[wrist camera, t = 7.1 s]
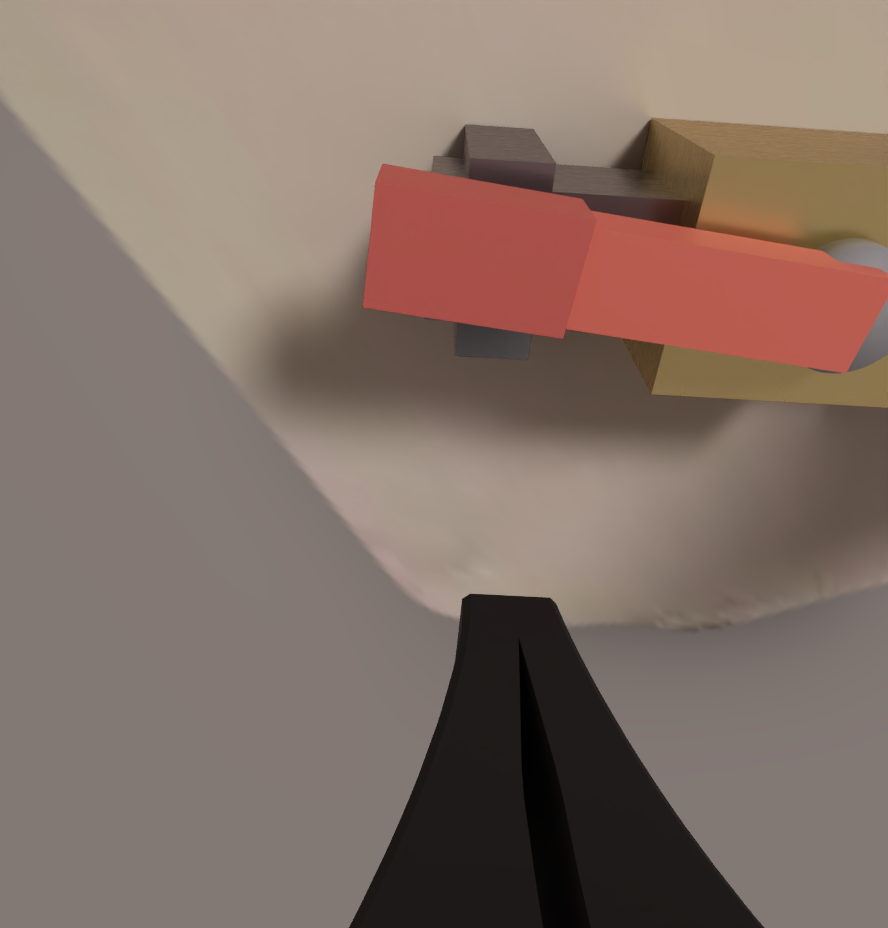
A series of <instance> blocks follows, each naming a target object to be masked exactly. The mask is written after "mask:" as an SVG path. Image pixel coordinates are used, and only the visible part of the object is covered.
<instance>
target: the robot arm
mask: <svg viewBox="0 0 888 928" xmlns="http://www.w3.org/2000/svg"><path fill="white" fill-rule="evenodd" d="M349 928H764V927H763V926H762V925H761V923H760V922H759V921H758V920H757V919H756V917H754V915H753V914H752V913H751V911H750V910H749V909H748V908H747V906H746V905H745V904H744V903H743V901H742V900H741V899H740V898H739V897H738V895H737V894H736V893H735V891H734V890H733V889H732V887H731V886H730V885H729V884H728V882H727V881H726V880H725V879H724V877H723V876H722V875H721V874H720V872H719V871H718V870H717V869H716V867H715V866H714V865H713V863H712V862H711V860H710V859H709V858H708V857H707V855H706V854H705V852H704V851H703V850H702V848H701V847H700V846H699V844H698V843H697V842H696V840H695V839H694V838H693V836H692V835H691V834H690V832H689V831H688V830H687V828H686V827H685V825H684V824H683V823H682V821H681V820H680V818H679V817H678V816H677V814H676V813H675V811H674V810H673V808H672V807H671V805H670V804H669V802H668V801H667V800H666V798H665V797H664V795H663V794H662V792H661V791H660V789H659V788H658V786H657V785H656V783H655V782H654V780H653V779H652V777H651V776H650V774H649V772H648V771H647V769H646V768H645V766H644V765H643V763H642V762H641V760H640V759H639V757H638V756H637V754H636V752H635V751H634V749H633V748H632V746H631V744H630V743H629V741H628V739H627V738H626V736H625V735H624V733H623V731H622V730H621V728H620V726H619V724H618V723H617V721H616V720H615V718H614V716H613V714H612V712H611V711H610V709H609V707H608V706H607V704H606V702H605V701H604V699H603V697H602V695H601V694H600V692H599V690H598V688H597V686H596V684H595V683H594V681H593V679H592V677H591V675H590V673H589V672H588V670H587V668H586V666H585V664H584V662H583V660H582V658H581V656H580V654H579V652H578V650H577V648H576V646H575V644H574V642H573V640H572V638H571V636H570V634H569V632H568V630H567V627H566V625H565V623H564V621H563V619H562V616H561V614H560V612H559V609H558V607H557V605H556V603H555V602H554V601H553V600H552V599H551V598H543V597H523V596H503V595H484V594H469V595H468V596H466V597H465V598H463V599H462V606H461V615H460V624H459V633H458V641H457V650H456V660H455V664H454V669H453V673H452V676H451V679H450V683H449V686H448V690H447V693H446V697H445V700H444V704H443V707H442V711H441V715H440V717H439V720H438V723H437V726H436V729H435V732H434V735H433V737H432V740H431V743H430V746H429V748H428V751H427V754H426V757H425V759H424V762H423V765H422V768H421V770H420V773H419V776H418V779H417V781H416V784H415V786H414V788H413V791H412V793H411V796H410V798H409V801H408V803H407V805H406V808H405V810H404V812H403V815H402V817H401V820H400V822H399V824H398V826H397V828H396V831H395V833H394V835H393V837H392V840H391V842H390V844H389V846H388V849H387V851H386V853H385V855H384V857H383V859H382V862H381V863H380V866H379V868H378V870H377V872H376V874H375V876H374V878H373V880H372V882H371V885H370V887H369V889H368V891H367V893H366V895H365V897H364V899H363V901H362V903H361V905H360V907H359V909H358V911H357V913H356V915H355V917H354V919H353V921H352V923H351V925H350V927H349Z"/></svg>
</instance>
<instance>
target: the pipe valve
mask: <svg viewBox="0 0 888 928" xmlns="http://www.w3.org/2000/svg"><path fill="white" fill-rule="evenodd" d="M432 173H438V174H444V175H450V176H455V177H461V178H467V179H472V180H478V181H484V182H489V183H495V184H501V185H506V186H512V187H518V188H524V189H529V190H535V191H541V192H546V193H552V194H558V195H563V196H569V197H575V198H580V199H583V200H584V202H585V203H586V205H587V206H588V208H589V209H590V211H596V212H602V213H608V214H613V215H619V216H625V217H631V218H636V219H642V220H648V221H654V222H659V223H665V224H671V225H676V226H682V227H688V228H694V229H699V230H705V231H711V232H717V233H722V234H728V235H734V236H740V237H745V238H751V239H757V240H763V241H768V242H774V243H780V244H786V245H791V246H797V247H803V248H808V249H816V248H818V247H820V246H822V245H825V244H827V243H830V242H833V241H836V240H840V239H846V238H864V239H869V240H872V241H875V242H877V243H880V244H881V245H883V246H885V247H887V248H888V135H886V134H871V133H857V132H843V131H828V130H814V129H800V128H785V127H771V126H757V125H742V124H728V123H714V122H699V121H685V120H671V119H656V118H652V120H651V124H650V129H649V134H648V139H647V143H646V148H645V153H644V158H643V162H642V167H641V170H633V169H618V168H603V167H588V166H574V165H559V164H556V162H555V161H554V159H553V158H552V156H551V155H550V153H549V152H548V150H547V149H546V147H545V146H544V144H543V143H542V141H541V140H540V138H539V137H538V135H537V134H536V132H535V131H534V129H523V128H509V127H494V126H480V125H465V136H464V150H463V158H455V157H440V156H433V167H432ZM425 319H432V320H440V319H433V318H427V317H425ZM531 335H532V334H529V333H523V332H516V331H510V330H503V329H497V328H491V327H484V326H478V325H471V324H465V323H459V322H454V343H455V356H465V357H482V358H499V359H517V360H528V356H529V349H530V342H531ZM623 340H624V342H625V344H626V346H627V348H628V350H629V352H630V354H631V356H632V358H633V360H634V361H635V363H636V365H637V367H638V369H639V371H640V373H641V375H642V377H643V379H644V381H645V383H646V385H647V387H648V389H649V391H650V393H651V394H656V395H673V396H691V397H708V398H726V399H744V400H761V401H779V402H796V403H814V404H831V405H849V406H867V407H884V408H888V354H887V355H886V356H884V357H883V358H882V359H880V360H878V361H876V362H875V363H873V364H871V365H868V366H866V367H864V368H861V369H858V370H855V371H851V372H847V373H836V374H830V373H822V372H817V371H814V370H812V369H809V368H808V367H803V366H797V365H790V364H784V363H778V362H771V361H765V360H759V359H752V358H746V357H740V356H733V355H727V354H721V353H714V352H708V351H702V350H695V349H689V348H683V347H676V346H670V345H664V344H657V343H651V342H645V341H638V340H632V339H626V338H623Z"/></svg>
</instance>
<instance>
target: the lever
mask: <svg viewBox="0 0 888 928" xmlns="http://www.w3.org/2000/svg"><path fill="white" fill-rule="evenodd" d="M363 308H369V309H376V310H382V311H388V312H395V313H401V314H408V315H414V316H420V317H427V318H433V319H440V320H446V321H452V322H459V323H465V324H471V325H478V326H484V327H491V328H497V329H503V330H510V331H516V332H523V333H529V334H535V335H542V336H548V337H555V338H561V339H563V338H564V334H565V331H566V329H569V330H575V331H581V332H588V333H594V334H600V335H607V336H613V337H619V338H626V339H632V340H638V341H645V342H651V343H657V344H664V345H670V346H676V347H683V348H689V349H695V350H702V351H708V352H714V353H721V354H727V355H733V356H740V357H746V358H752V359H759V360H765V361H771V362H778V363H784V364H790V365H797V366H803V367H808V368H809V369H812V370H814V371H817V372H822V373H830V374H836V373H847V372H851V371H855V370H858V369H861V368H864V367H866V366H868V365H871V364H873V363H875V362H876V361H878V360H880V359H882V358H883V357H884V356H886V355H887V354H888V248H887V247H885V246H883V245H881V244H880V243H877V242H875V241H872V240H869V239H864V238H846V239H840V240H836V241H833V242H830V243H827V244H825V245H822V246H820V247H818V248H816V249H808V248H803V247H797V246H791V245H786V244H780V243H774V242H768V241H763V240H757V239H751V238H745V237H740V236H734V235H728V234H722V233H717V232H711V231H705V230H699V229H694V228H688V227H682V226H676V225H671V224H665V223H659V222H654V221H648V220H642V219H636V218H631V217H625V216H619V215H613V214H608V213H602V212H596V211H590V209H589V208H588V206H587V205H586V203H585V202H584V200H583V199H580V198H575V197H569V196H563V195H558V194H552V193H546V192H541V191H535V190H529V189H524V188H518V187H512V186H506V185H501V184H495V183H489V182H484V181H478V180H472V179H467V178H461V177H455V176H450V175H444V174H438V173H432V172H427V171H421V170H415V169H410V168H404V167H398V166H393V165H387V164H382V166H381V169H380V171H379V174H378V176H377V179H376V182H375V191H374V201H373V211H372V221H371V231H370V241H369V251H368V261H367V271H366V281H365V291H364V301H363Z"/></svg>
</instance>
